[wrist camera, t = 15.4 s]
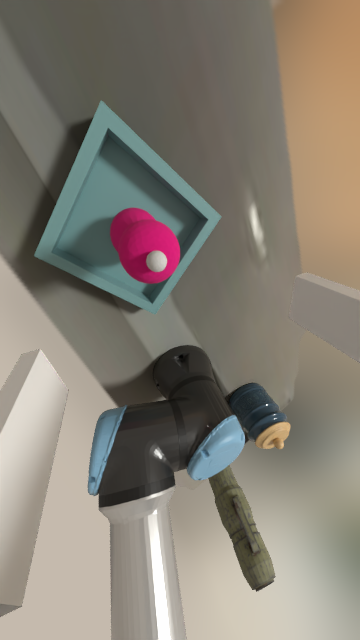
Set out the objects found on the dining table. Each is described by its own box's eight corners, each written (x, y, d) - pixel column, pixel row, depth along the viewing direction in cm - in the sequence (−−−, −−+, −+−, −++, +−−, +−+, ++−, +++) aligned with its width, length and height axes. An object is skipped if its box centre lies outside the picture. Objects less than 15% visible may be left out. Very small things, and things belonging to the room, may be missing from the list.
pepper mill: (101, 237, 32) (94, 277, 16) (124, 195, 30) (146, 190, 14) (140, 262, 36) (168, 316, 19) (163, 226, 34) (215, 252, 17)
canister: (266, 378, 67) (309, 427, 53) (257, 404, 74) (293, 453, 59) (231, 386, 64) (268, 441, 49) (225, 412, 70) (255, 467, 56)
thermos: (195, 450, 77) (246, 598, 49) (192, 434, 71) (249, 593, 42) (216, 441, 79) (278, 580, 50) (215, 425, 72) (285, 573, 44)
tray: (151, 304, 41) (155, 314, 38) (42, 249, 31) (33, 256, 28) (209, 215, 36) (221, 216, 32) (102, 114, 26) (101, 100, 22)
